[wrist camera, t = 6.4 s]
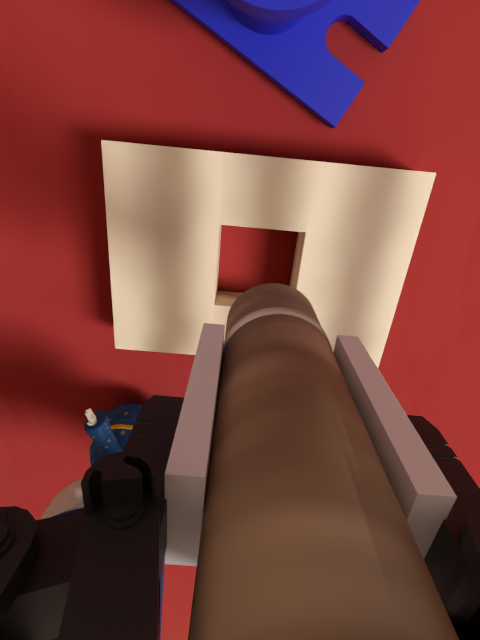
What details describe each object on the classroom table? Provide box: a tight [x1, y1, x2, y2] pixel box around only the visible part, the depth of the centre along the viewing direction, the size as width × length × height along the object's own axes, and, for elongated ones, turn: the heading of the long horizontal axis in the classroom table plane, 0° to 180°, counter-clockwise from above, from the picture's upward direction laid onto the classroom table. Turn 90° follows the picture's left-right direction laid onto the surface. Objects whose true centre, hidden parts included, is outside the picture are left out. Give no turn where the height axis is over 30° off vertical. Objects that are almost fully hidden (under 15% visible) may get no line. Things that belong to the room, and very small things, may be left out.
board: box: [101, 140, 436, 368], centre depth 25 cm, size 20×14×3 cm
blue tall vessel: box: [41, 404, 165, 640], centre depth 24 cm, size 13×9×20 cm
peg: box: [188, 283, 459, 640], centre depth 10 cm, size 4×4×12 cm
